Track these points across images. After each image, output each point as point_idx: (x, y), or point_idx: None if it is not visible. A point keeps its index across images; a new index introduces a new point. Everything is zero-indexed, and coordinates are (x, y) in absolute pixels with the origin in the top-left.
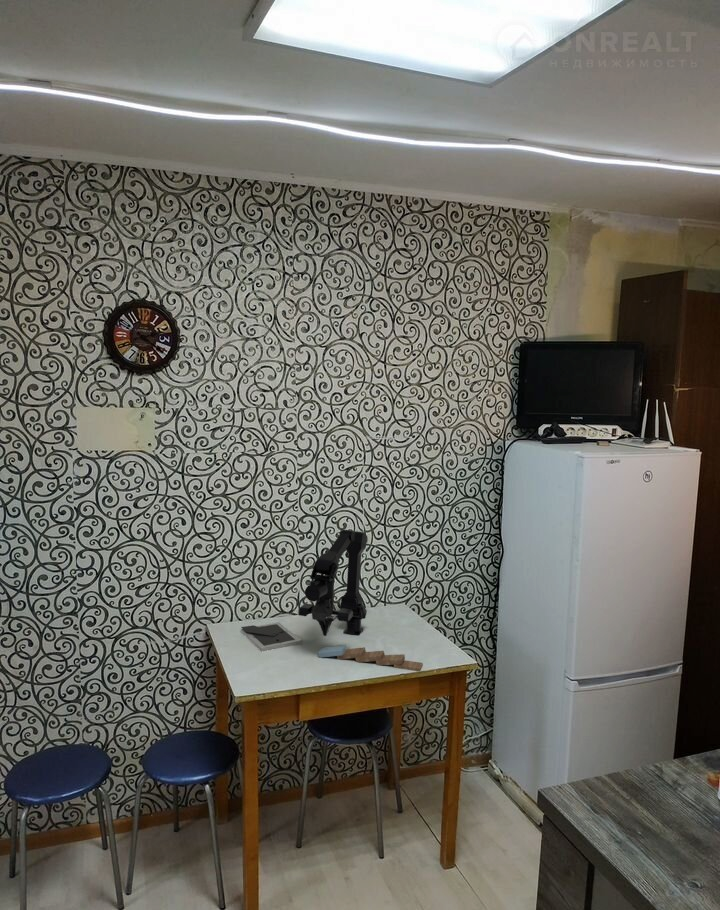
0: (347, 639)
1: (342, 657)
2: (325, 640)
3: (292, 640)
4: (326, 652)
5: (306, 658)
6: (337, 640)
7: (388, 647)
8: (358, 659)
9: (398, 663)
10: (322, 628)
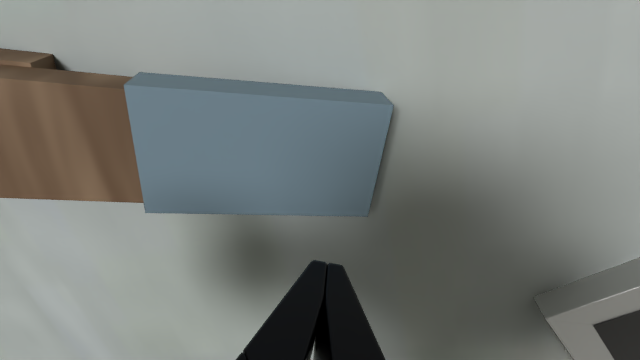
0: None
1: None
2: None
3: (619, 313)
4: (302, 98)
5: (496, 51)
6: None
7: (7, 292)
8: (12, 56)
9: None
10: (356, 355)
